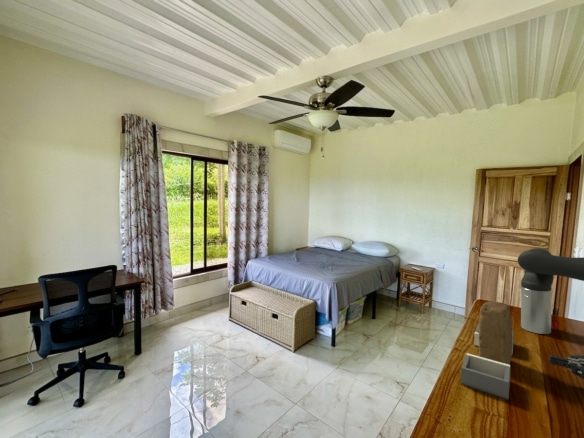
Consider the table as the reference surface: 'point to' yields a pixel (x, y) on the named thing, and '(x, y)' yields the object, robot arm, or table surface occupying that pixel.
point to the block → (495, 332)
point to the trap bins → (486, 373)
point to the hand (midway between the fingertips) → (549, 358)
